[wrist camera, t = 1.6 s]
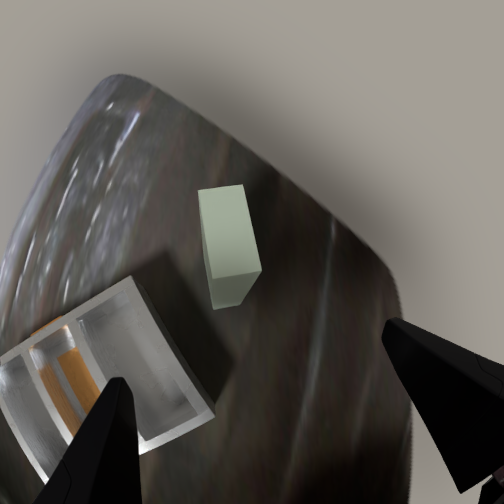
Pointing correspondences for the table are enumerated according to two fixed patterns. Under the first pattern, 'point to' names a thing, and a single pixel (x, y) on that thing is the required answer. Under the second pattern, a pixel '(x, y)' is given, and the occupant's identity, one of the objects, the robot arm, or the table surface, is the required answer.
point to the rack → (99, 376)
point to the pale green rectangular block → (228, 245)
